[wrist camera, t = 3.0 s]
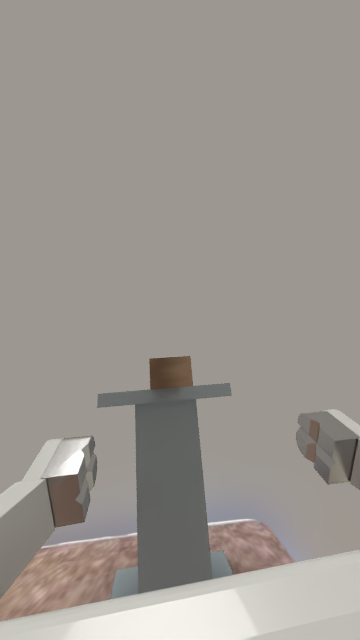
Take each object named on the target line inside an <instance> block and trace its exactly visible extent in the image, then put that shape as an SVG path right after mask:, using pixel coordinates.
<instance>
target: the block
mask: <svg viewBox="0 0 360 640" xmlns="http://www.w3.org/2000/svg"><path fill="white" fill-rule="evenodd" d="M150 386H151V390H154V389H166V388H178V387H190V386H193V381H192V370H191V359H190V356H187V357H169V358H156V359H155V358H154V359H150Z"/></svg>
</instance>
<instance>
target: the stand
mask: <svg viewBox="0 0 360 640" xmlns="http://www.w3.org/2000/svg"><path fill="white" fill-rule="evenodd" d="M221 396H231V388H230V383H225V384H212V385H200V386H190V387H178V388H166V389H154V390H139V391H127V392H115V393H103V394H98V408H99V407H111V406H122V405H133V404H135V419H136V478H137V539H138V566H137V567H131V568H126V569H120V570H116V574H115V579H114V584H113V588H112V593H111V598H110V599H115V598H120V597H125V596H130V595H135V594H140V593H145V592H150V591H155V590H160V589H165V588H170V587H175V586H180V585H186V584H191V583H196V582H201V581H206V580H211V579H216V578H221V577H226V576H231V575H233V572H232V570H231V568H230V565H229V563H228V561H227V558H226V556H225V554H224V551H218V552H213V553H210V546H209V535H208V524H207V514H206V503H205V493H204V482H203V471H202V462H201V450H200V439H199V428H198V418H197V407H196V399H200V398H210V397H221Z"/></svg>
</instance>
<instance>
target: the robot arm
mask: <svg viewBox="0 0 360 640" xmlns="http://www.w3.org/2000/svg"><path fill="white" fill-rule="evenodd" d="M298 423H299V425H300V428H299V430H298V431H297V433H296V440H297V444H298V448H299V449H300V451H301V453H302V454H303V455H304V457H305V458H307V459H308V460H310V461H312V462H314V468H315V470H316V471H317V472H318V473H319V475H320V476H321V477H322V478H323V479H324V480H325V482H326V483H327V484H337V483H344V482H350V484H352V485H353V486H355V487H356V488H358V489H360V426H359V425H358V424H357V423H355V422H354V421H353V420H351V419H350V418H348V417H347V416H346V415H344V414H343V413H342V412H340V411H338V410H336V409H333V410H325V411H319V412H311V413H302V414H300V415H299V417H298ZM94 447H95V441H94V437H93V436H87V437H73V438H64V439H54V440H48V441H47V442H46V443H45V444H44V446H43V447H42V449H41V451H40V452H39V454H38V456H37V457H36V459H35V460H34V462H33V464H32V465H31V467H30V469H29V470H28V472H27V473H26V475H25V476H24V478H23V480H22V481H21V482H16V483H15V484H13V485H12V486H11V487H10V488H8V489H7V490H6V491H4V492H3V493H2V494H0V599H1V598H2V596H3V595H4V594H5V593H6V591H7V590H8V589H9V588H10V586H11V585H12V584H13V582H14V581H15V580H16V579H17V577H18V576H19V575H20V574H21V572H22V571H23V570H24V568H25V567H26V566H27V565H28V563H29V562H30V561H31V560H32V558H33V557H34V556H35V554H36V553H37V552H38V551H39V549H40V548H41V547H42V546H43V544H44V543H45V542H46V540H47V539H48V538H49V537H50V535H51V534H52V533H53V532H54V530H55V527H61V526H66V525H72V524H77V523H82V522H85V518H86V514H87V511H88V507H89V503H90V493H89V491H90V490H91V489H92V488H93V487H94V484H95V480H96V472H97V457H96V455H95V454H94V453H93V450H94ZM0 640H360V550H356V551H351V552H346V553H341V554H336V555H331V556H326V557H321V558H316V559H311V560H306V561H301V562H296V563H291V564H286V565H281V566H276V567H271V568H266V569H261V570H256V571H251V572H246V573H241V574H236V575H231V576H226V577H221V578H216V579H211V580H206V581H201V582H196V583H191V584H186V585H180V586H175V587H170V588H165V589H160V590H155V591H150V592H145V593H140V594H135V595H130V596H125V597H120V598H115V599H110V600H105V601H100V602H95V603H90V604H85V605H80V606H75V607H70V608H65V609H60V610H55V611H50V612H45V613H40V614H35V615H30V616H25V617H20V618H15V619H10V620H5V621H0Z"/></svg>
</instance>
